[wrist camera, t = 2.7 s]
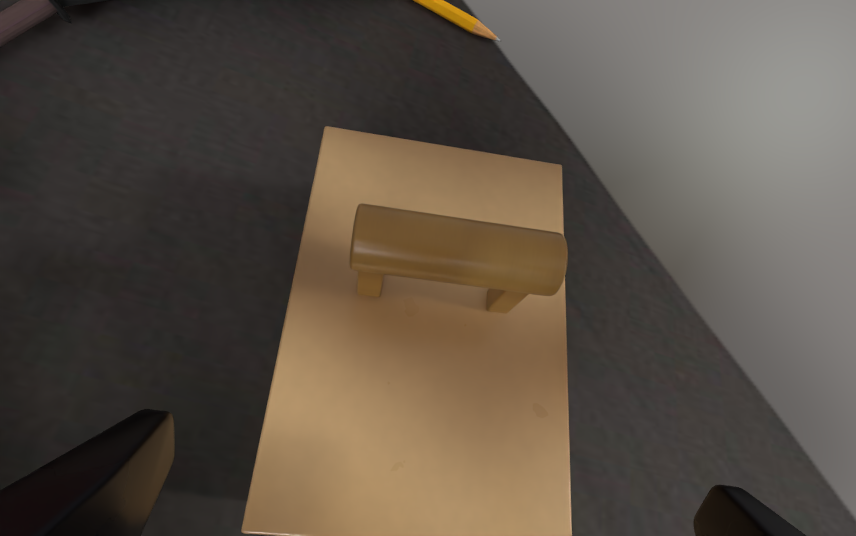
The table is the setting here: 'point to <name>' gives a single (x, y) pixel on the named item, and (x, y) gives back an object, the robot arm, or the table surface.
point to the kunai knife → (32, 15)
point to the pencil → (458, 17)
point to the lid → (421, 350)
